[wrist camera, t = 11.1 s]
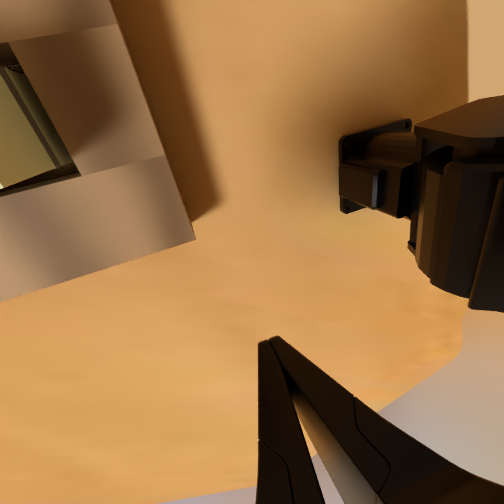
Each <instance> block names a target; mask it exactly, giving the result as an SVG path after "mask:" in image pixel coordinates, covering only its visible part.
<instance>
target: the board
mask: <svg viewBox="0 0 504 504" xmlns="http://www.w3.org/2000/svg"><path fill="white" fill-rule="evenodd" d="M16 63H20V65H21V67H22V69H23V70H24V72H25V74H26V76H27V78H28V79H29V81H30V83H31V85H32V87H33V89H34V90H35V92H36V94H37V96H38V98H39V99H40V101H41V103H42V105H43V107H44V108H45V110H46V112H47V114H48V116H49V118H50V119H51V121H52V123H53V125H54V127H55V128H56V130H57V132H58V134H59V136H60V137H61V139H62V141H63V143H64V145H65V147H66V148H67V150H68V152H69V154H70V156H71V157H72V159H73V161H74V163H75V165H76V166H77V168H78V170H79V172H77V173H73V174H69V175H65V176H61V177H57V178H53V179H49V180H45V181H41V182H37V183H33V184H29V185H26V186H22V187H18V188H14V189H10V190H6V191H2V192H0V302H3V301H6V300H9V299H12V298H15V297H18V296H21V295H24V294H28V293H31V292H34V291H37V290H40V289H43V288H46V287H49V286H53V285H56V284H59V283H62V282H65V281H68V280H71V279H74V278H78V277H81V276H84V275H87V274H90V273H93V272H96V271H99V270H103V269H106V268H109V267H112V266H115V265H118V264H121V263H124V262H128V261H131V260H134V259H137V258H140V257H143V256H146V255H149V254H153V253H156V252H159V251H162V250H165V249H168V248H171V247H174V246H178V245H181V244H184V243H187V242H190V241H193V240H196V238H195V234H194V231H193V227H192V223H191V220H190V218H189V215H188V212H187V209H186V207H185V204H184V201H183V198H182V195H181V193H180V190H179V187H178V184H177V182H176V179H175V176H174V173H173V170H172V168H171V165H170V162H169V159H168V156H167V154H166V151H165V148H164V145H163V143H162V140H161V137H160V134H159V131H158V129H157V126H156V123H155V120H154V118H153V115H152V112H151V109H150V106H149V104H148V101H147V98H146V95H145V93H144V90H143V87H142V84H141V81H140V79H139V76H138V73H137V70H136V68H135V65H134V62H133V59H132V56H131V54H130V51H129V48H128V45H127V43H126V40H125V37H124V34H123V31H122V29H121V26H120V23H119V20H118V17H117V15H116V12H115V9H114V6H113V4H112V1H111V0H0V65H1V66H5V65H10V64H16Z"/></svg>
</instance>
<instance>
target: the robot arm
mask: <svg viewBox="0 0 504 504" xmlns="http://www.w3.org/2000/svg"><path fill="white" fill-rule="evenodd" d="M404 125H405V127H404ZM411 127H412V121H411V120H410V119H401V120H397V121H394V122H390V123H387V124H383V125H379V126H376V127H372V128H368V129H365V130H361V131H358V132H354V133H350V134H347V135H344V136H342V137H341V138H340V140H339V195H340V211H341V212H343V213H345V214H348V213H351V212H354V211H357V210H360V209H363V208H366V207H367V208H370V209H372V210H375V209H376V210H378V211H381V212H383V213H386V214H388V215H391V216H393V217H396V218H402V217H403V218H405V219H408V220H410V221H411V226H410V240H409V241H408V249H409V250H410V251H411V252H412V253H413V254H414V256H415V259H416V262H417V265H418V267H419V269H420V270H421V271H422V272H423V273H424V274H425V275H426V276H427V277H428V278H430V283H431V284H432V285H434V286H436V287H438V288H440V289H442V290H444V291H446V292H449V293H451V294H454V295H457V296H460V297H464V298H468V299H469V302H468V307H469V308H471V309H475V310H487V311H498V312H503V313H504V95H503V96H496V97H489V98H484V99H478V100H475V101H473V102H470V103H468V104H465V105H463V106H460V107H458V108H455V109H453V110H450V111H448V112H445V113H443V114H440V115H438V116H435V117H433V118H430V119H428V120H425V121H423V122H420V123H418V124H416V125H415V128H414V132H411ZM346 139H347V144H346V145H345V141H346ZM346 206H347V209H346V210H345V208H346ZM297 415H298V416H297ZM298 417H299V419H300V420H301V422H302V424H303V426H304V428H305V430H306V432H307V434H308V436H309V437H310V439H311V441H312V443H313V445H314V447H315V449H316V451H317V453H318V454H319V456H320V458H321V460H322V462H323V464H324V466H325V468H326V470H327V471H328V473H329V475H330V477H331V479H332V481H333V483H334V484H335V487H336V488H337V490H338V492H339V494H340V496H341V498H342V500H343V502H344V504H504V486H503V485H500V484H497V483H495V482H492V481H489V480H487V479H484V478H481V477H479V476H476V475H474V474H472V473H470V472H468V471H466V470H464V469H462V468H460V467H458V466H456V465H455V464H453V463H451V462H450V461H448V460H447V459H445V458H443V457H442V456H440V455H439V454H437V453H436V452H434V451H433V450H431V449H430V448H428V447H426V446H425V445H423V444H422V443H420V442H419V441H417V440H416V439H414V438H413V437H411V436H409V435H408V434H406V433H405V432H403V431H402V430H400V429H399V428H397V427H396V426H394V425H393V424H392V423H390V422H388V421H387V420H386V419H384V418H383V417H381V416H380V415H379V414H377V413H376V412H375V411H373V410H372V409H371V408H369V407H368V406H367V405H365V404H364V403H363V402H362V401H360V400H359V399H358V398H357V397H354V395H353V394H351V393H350V392H349V391H348V390H346V389H345V388H344V387H343V386H341V385H340V384H339V383H338V382H336V381H335V380H334V379H333V378H331V377H330V376H329V375H327V374H326V373H325V372H324V371H322V370H321V369H320V368H319V367H317V366H316V365H315V364H314V363H312V362H311V361H310V360H309V359H307V358H306V357H305V356H304V355H302V354H301V353H300V352H299V351H297V350H296V349H295V348H293V347H292V346H291V345H290V344H288V343H287V342H286V341H285V340H283V339H282V338H281V337H280V336H274V337H271V338H269V339H268V340H264V341H261V342H259V343H258V439H259V441H258V478H257V491H256V504H325V501H324V497H323V494H322V491H321V488H320V485H319V482H318V479H317V475H316V473H315V469H314V466H313V463H312V460H311V457H310V453H309V450H308V447H307V444H306V441H305V438H304V434H303V431H302V428H301V425H300V422H299V419H298Z"/></svg>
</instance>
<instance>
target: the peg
mask: <svg viewBox="0 0 504 504" xmlns="http://www.w3.org/2000/svg"><path fill="white" fill-rule="evenodd" d="M72 161H73V159H72V157H71V156H70V154H69V152H68V150H67V148H66V147H65V145H64V143H63V141H62V139H61V137H60V136H59V134H58V132H57V130H56V128H55V127H54V125H53V123H52V121H51V119H50V118H49V116H48V114H47V112H46V110H45V108H44V107H43V105H42V103H41V101H40V99H39V98H38V96H37V94H36V92H35V90H34V89H33V87H32V85H31V83H30V81H29V79H28V78H27V76H26V75H23V74H20V73H17V72H14V71H11V70H9V69H6V68H4V67H3V66H1V65H0V189H1V188H5V187H7V186H10V185H13V184H15V183H18V182H20V181H23V180H26V179H28V178H31V177H33V176H36V175H39V174H41V173H44V172H46V171H49V170H52V169H56V168H59V167H62V165H65V164H67V163H70V162H72Z"/></svg>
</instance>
